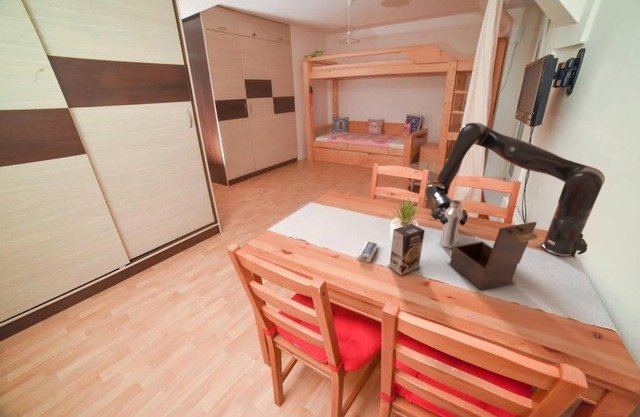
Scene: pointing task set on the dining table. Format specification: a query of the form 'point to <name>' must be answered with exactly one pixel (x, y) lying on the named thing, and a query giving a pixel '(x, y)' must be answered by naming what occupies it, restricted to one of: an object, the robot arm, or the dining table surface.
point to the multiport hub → (368, 251)
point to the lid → (510, 245)
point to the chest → (480, 266)
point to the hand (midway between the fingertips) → (453, 222)
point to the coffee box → (406, 248)
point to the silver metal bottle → (451, 225)
